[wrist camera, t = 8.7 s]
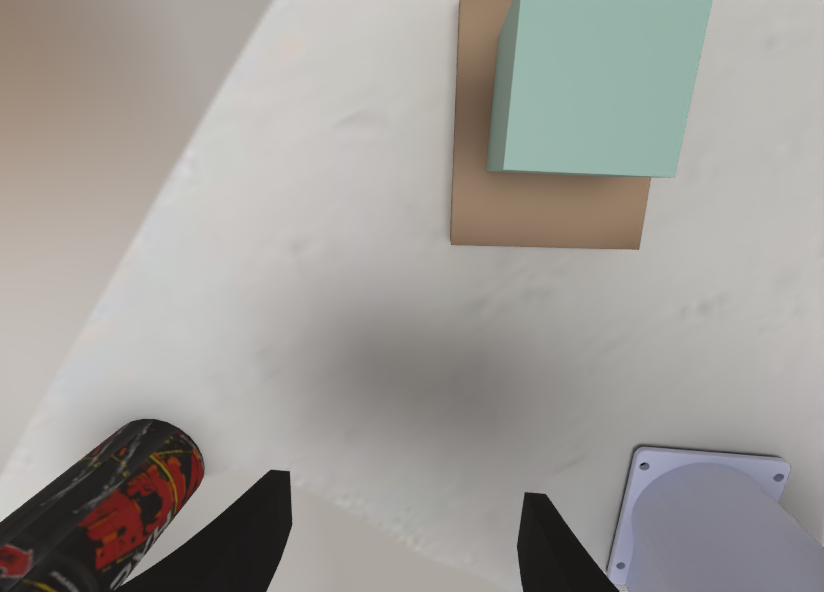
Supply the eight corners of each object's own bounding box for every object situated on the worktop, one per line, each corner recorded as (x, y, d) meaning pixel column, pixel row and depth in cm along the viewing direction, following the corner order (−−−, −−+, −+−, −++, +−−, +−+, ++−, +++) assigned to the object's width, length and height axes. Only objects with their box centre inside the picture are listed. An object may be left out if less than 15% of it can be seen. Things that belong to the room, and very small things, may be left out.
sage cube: (609, 177, 17) (674, 177, 12) (486, 171, 17) (503, 169, 12) (632, 38, 16) (717, -22, 11) (498, 35, 16) (522, -26, 11)
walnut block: (611, 239, 21) (639, 249, 18) (450, 235, 21) (450, 245, 18) (646, 6, 18) (685, -26, 15) (458, 9, 18) (461, -23, 15)
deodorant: (106, 412, 25) (-347, 731, 11) (202, 426, 25) (-129, 770, 10) (116, 493, 27) (-265, 862, 12) (205, 506, 26) (-76, 898, 12)
